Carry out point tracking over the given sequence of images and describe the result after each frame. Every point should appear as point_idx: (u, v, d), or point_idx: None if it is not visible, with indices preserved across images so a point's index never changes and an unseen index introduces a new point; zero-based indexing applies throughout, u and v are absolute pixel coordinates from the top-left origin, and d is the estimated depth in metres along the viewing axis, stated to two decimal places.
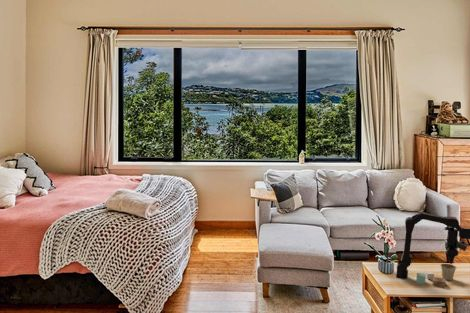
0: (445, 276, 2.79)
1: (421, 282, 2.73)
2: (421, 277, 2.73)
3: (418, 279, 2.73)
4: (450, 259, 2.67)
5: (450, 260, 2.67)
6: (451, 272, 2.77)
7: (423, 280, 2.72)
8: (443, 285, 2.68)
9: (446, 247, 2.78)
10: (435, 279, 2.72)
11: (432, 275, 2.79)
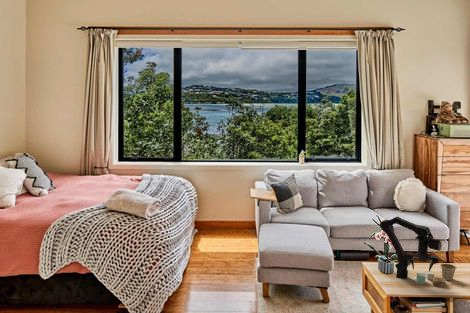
0: (445, 276, 2.79)
1: (421, 282, 2.73)
2: (421, 277, 2.73)
3: (418, 279, 2.73)
4: (412, 264, 2.77)
5: (412, 265, 2.77)
6: (451, 272, 2.77)
7: (423, 280, 2.72)
8: (443, 285, 2.68)
9: None
10: (435, 279, 2.72)
11: (432, 275, 2.79)
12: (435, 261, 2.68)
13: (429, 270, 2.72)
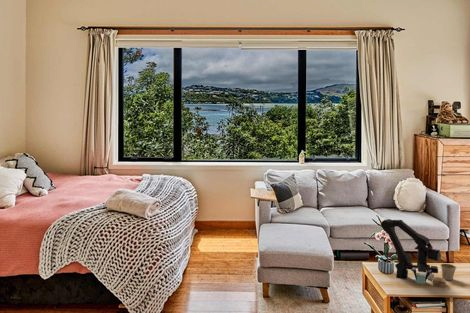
0: (445, 276, 2.79)
1: (421, 282, 2.73)
2: (421, 277, 2.73)
3: (418, 279, 2.73)
4: (414, 274, 2.77)
5: None
6: (451, 272, 2.77)
7: (423, 280, 2.72)
8: (443, 285, 2.68)
9: None
10: (435, 279, 2.72)
11: (432, 275, 2.79)
12: (434, 271, 2.69)
13: (425, 280, 2.74)
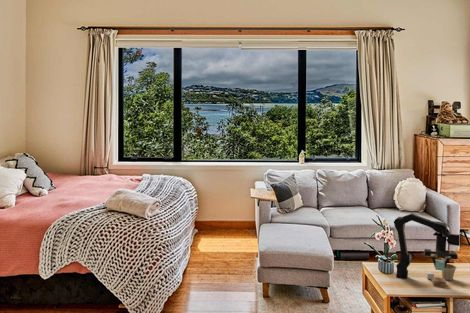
0: (445, 276, 2.79)
1: (440, 268, 2.69)
2: (440, 263, 2.69)
3: (437, 266, 2.69)
4: (433, 261, 2.73)
5: None
6: (451, 272, 2.77)
7: (442, 266, 2.68)
8: (443, 285, 2.69)
9: None
10: (435, 279, 2.72)
11: (432, 275, 2.79)
12: (454, 257, 2.65)
13: None
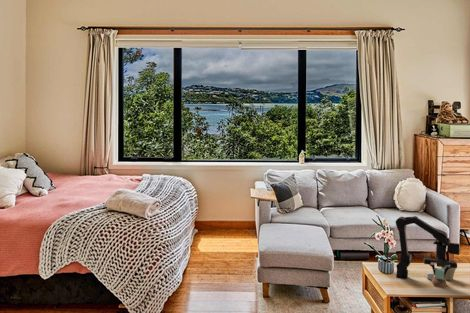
0: (445, 276, 2.79)
1: (440, 277, 2.70)
2: (440, 272, 2.69)
3: (437, 274, 2.70)
4: None
5: (433, 270, 2.74)
6: (451, 272, 2.77)
7: (442, 275, 2.69)
8: (444, 285, 2.69)
9: (446, 264, 2.72)
10: (435, 279, 2.72)
11: (432, 275, 2.79)
12: (453, 266, 2.66)
13: (444, 275, 2.70)
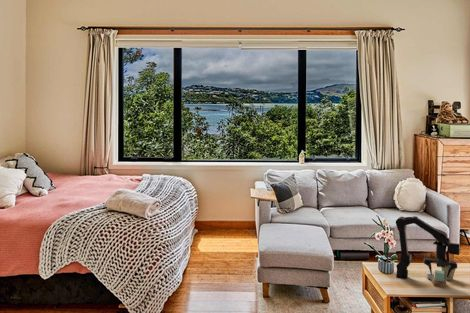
0: (445, 276, 2.79)
1: (440, 279, 2.70)
2: (440, 274, 2.69)
3: (437, 277, 2.70)
4: None
5: None
6: (451, 272, 2.77)
7: (442, 277, 2.69)
8: (444, 285, 2.69)
9: None
10: None
11: (432, 275, 2.79)
12: (453, 266, 2.66)
13: (447, 275, 2.70)
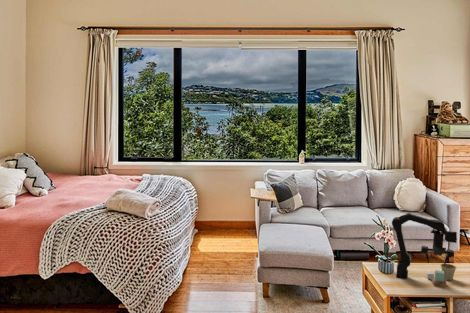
0: (445, 276, 2.79)
1: (440, 279, 2.70)
2: (440, 274, 2.69)
3: (437, 277, 2.70)
4: None
5: (427, 259, 2.77)
6: (451, 272, 2.77)
7: (442, 277, 2.69)
8: (444, 285, 2.69)
9: None
10: None
11: (432, 275, 2.79)
12: (450, 255, 2.68)
13: (444, 264, 2.72)
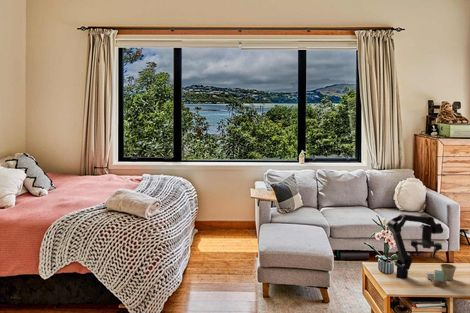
0: (445, 276, 2.79)
1: (439, 279, 2.70)
2: (439, 274, 2.70)
3: (436, 276, 2.70)
4: (416, 251, 2.89)
5: None
6: (451, 272, 2.77)
7: (441, 277, 2.69)
8: (444, 285, 2.68)
9: (435, 247, 2.86)
10: None
11: (432, 275, 2.79)
12: (438, 248, 2.81)
13: (433, 256, 2.85)
